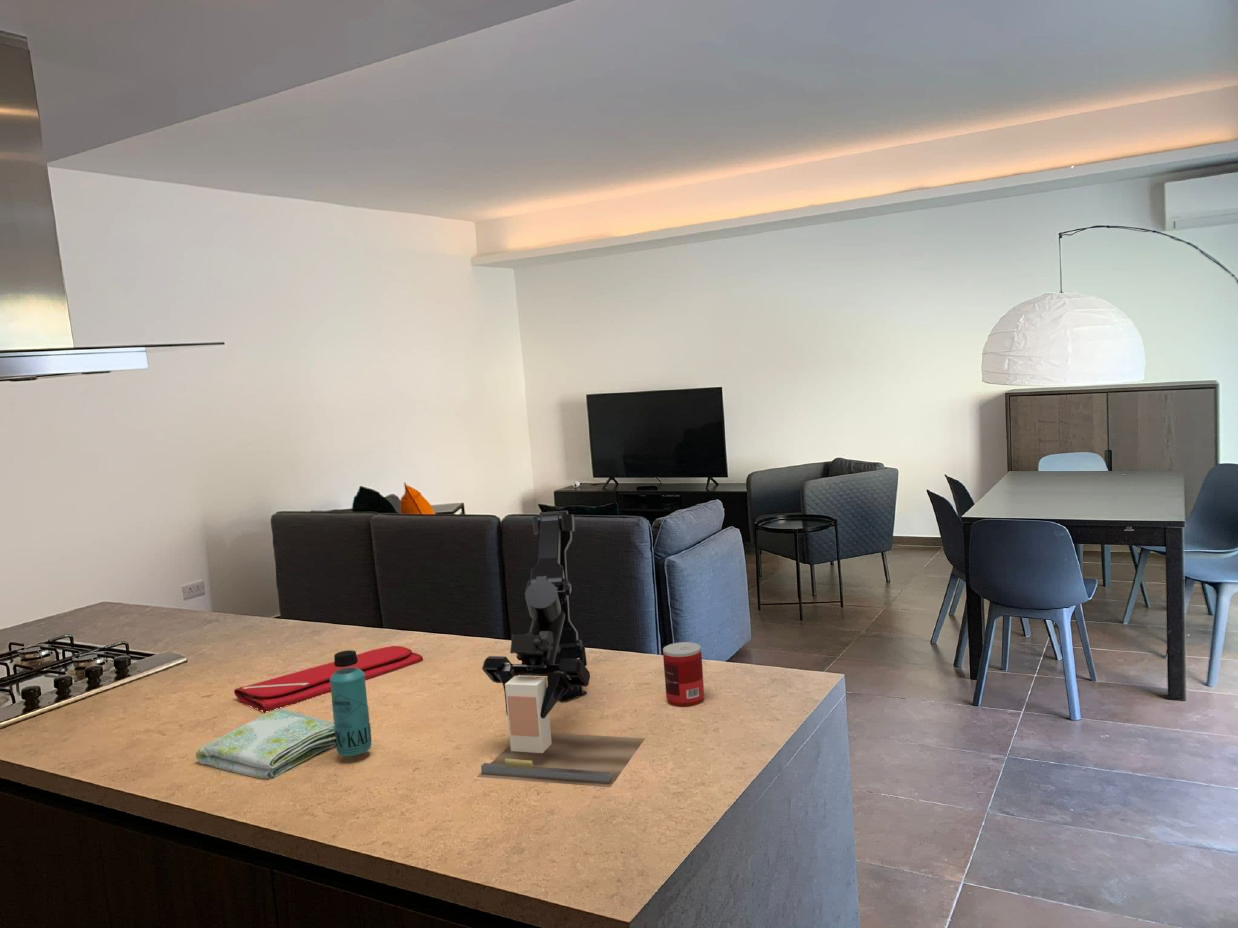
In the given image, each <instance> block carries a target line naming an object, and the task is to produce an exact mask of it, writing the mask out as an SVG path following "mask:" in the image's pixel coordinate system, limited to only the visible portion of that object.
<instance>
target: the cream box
mask: <svg viewBox="0 0 1238 928" xmlns="http://www.w3.org/2000/svg"><path fill="white" fill-rule="evenodd" d="M547 686H548V683H547V676H523V675H518V676H514V677H513V678H512V679H511V680H509V681H508V682H507V683H506V684H505V691H506V702H507V713H508V715H507V722H508V723H507V724H508V733H509V734H508V735H509V745H510V746H511V751H518V752H532V753H543V752H544V751H545V750H546V749H547V748H548V747H549V746H550V745H551V744H552V742H551V733H552V731H551V719H550V712H549V713H548V714H547V716H546V717H545V718H544V719H543V718H541V716H540V715H541V708H542V704H543V701H544V697H545V693H546V690H547ZM507 713H506V714H507Z"/></svg>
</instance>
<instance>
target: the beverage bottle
mask: <svg viewBox="0 0 1238 928" xmlns="http://www.w3.org/2000/svg"><path fill="white" fill-rule="evenodd" d="M357 655H358V654H357V652H356V650H342V651H339V652H336V653H335V654H334V655H333V658H334V659H333V660H334V661H333V662H334V665H335V666H336V667H347V666H351V665H354V664H356V663H357V662H358V659H357ZM330 683H331V692H330V693H331V694H330V695H331V706H332V707H331V708H332V718H333V719H332V721H333V722H334V723H333V724H334V727H335V733H334V735H335V737H336V739H335V743H336V745H335V748H336V751H337V754H338V755H339V756H342V757H352V756H358V755H362V754H364V753H366V752H368V751H369V750H370V749H371V747H372V741H373V740H372V738H373V737H372V733H371V732H372V729H371V722H370V711H369V709H370V708H369V707H370V706H369V705H368V697H367V696H368V695H367V685H366V680H365V673H364V672H363V671H362V670H360V669H358V668H356V667H347V668H342V669H339V670H337V671H335V672H334V674H333V675H332V676H331V677H330Z"/></svg>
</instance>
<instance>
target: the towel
mask: <svg viewBox="0 0 1238 928" xmlns="http://www.w3.org/2000/svg"><path fill="white" fill-rule="evenodd" d="M333 723H334V721H328V720H323V719H319V718H315V717H312V716H310V715H306V714H303V713H299V712H296V711H291V710H286V709H282V708H279V709H276V710H273V711H270V712H267V713H264V714H262V715H261V716H259V717H257V718H255V719H253V720H251V721H249V722H248V723H245V724H244V725H241V726H239V727H237V728H235V729H233V730H231V731H229V732H227V733H226V734H223V735H221V736H219V737H217V738H215V739H213V740H211V741H210V742H208V743H205V744H204V745H202V746H201V747H200V748H199V749H197V750H196V752H195V759H196V760H197V761H198V762H199V763H200V765H203V766H205V765H206V766H210V767H212V768H216V769H220V770H224V771H228V772H232V773H236V774H240V775H244V776H247V777H250V778H251V777H252V778H254V779H255V778H256V779H262V780H270V779H272V778H276V777H278V776H280V775H282V774H283V773H285V772H286V771H288V770H290V769H292V768H293V767H296V766H297V765H300V764H301V763H304V762H305V761H307V760H309V759H310V758H311V759H312V757H314V756H315V755H317V754H319V753H321V752H323V751H325V750H330V749H333V748H336V743H335V739H336V737H335V735H334V733H335V727H334V724H333Z"/></svg>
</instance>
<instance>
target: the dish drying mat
mask: <svg viewBox="0 0 1238 928" xmlns="http://www.w3.org/2000/svg"><path fill="white" fill-rule="evenodd" d="M356 655H357V659H358V662H357V663H356V664H354V665H351V666H347V667H356V668H358V669H360V670H362V671H363V672H364V673H365V681H367V680H371V679H374V678H377V677H380V676H382V675H385V674H389V673H392V672H395V671H397V670H401V669H404V668H407V667H409V666H412V665H415V664H417V663H420V662H423V660H424V657H423V655H421V654H419V653H416V652H413V650H412V649H410V648H408V647H405V646H401V645H390V646H384V647H381V648H375V649H372V650H368V651H365V652H362V653H358V654H356ZM347 667H336V666H335V665H334V661H332V662H328V663H325V664H321V665H317V666H313V667H309V668H306V669H303V670H299V671H295V672H292V673H289V674H288V673H287V674H284V675H281V676H277V677H274V678H271V679H267V680H263V681H259V682H256V683H253V684H248V685H244V686H241V687H237V688H235V689H233V692H234V695H235V697H236V698H237V700H238V701H239V702H240V701H241V702H240V703H242V702H243V703H244V704H243V703H242V704H243V705H245V704H247V705H250V706H252V707H255V708H258V709H259V710H263V712H266V711H270V710H273V711H274V709H276V708H279V709H281V708H280V707H283V708H285V707H284V706H286V705H289V706H292V705H295V704H298V703H301V701H302V702H304V700H305V701H307V699H308V700H310V698H311V699H313V698H312V697H314V698H317V697H320V696H323V695H326V694H328V693H329V694H330V693H331V683H330V677H331V676H332V675H333V674H334V672H335V671H337V670H339V669H342V668H347ZM322 694H323V695H322ZM316 696H317V697H316ZM297 702H298V703H297ZM291 704H292V705H291ZM247 705H246V706H247ZM250 706H249V707H250ZM252 707H251V708H252ZM286 707H287V706H286ZM259 710H258V711H259ZM263 712H262V713H263ZM270 712H271V711H270Z"/></svg>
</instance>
